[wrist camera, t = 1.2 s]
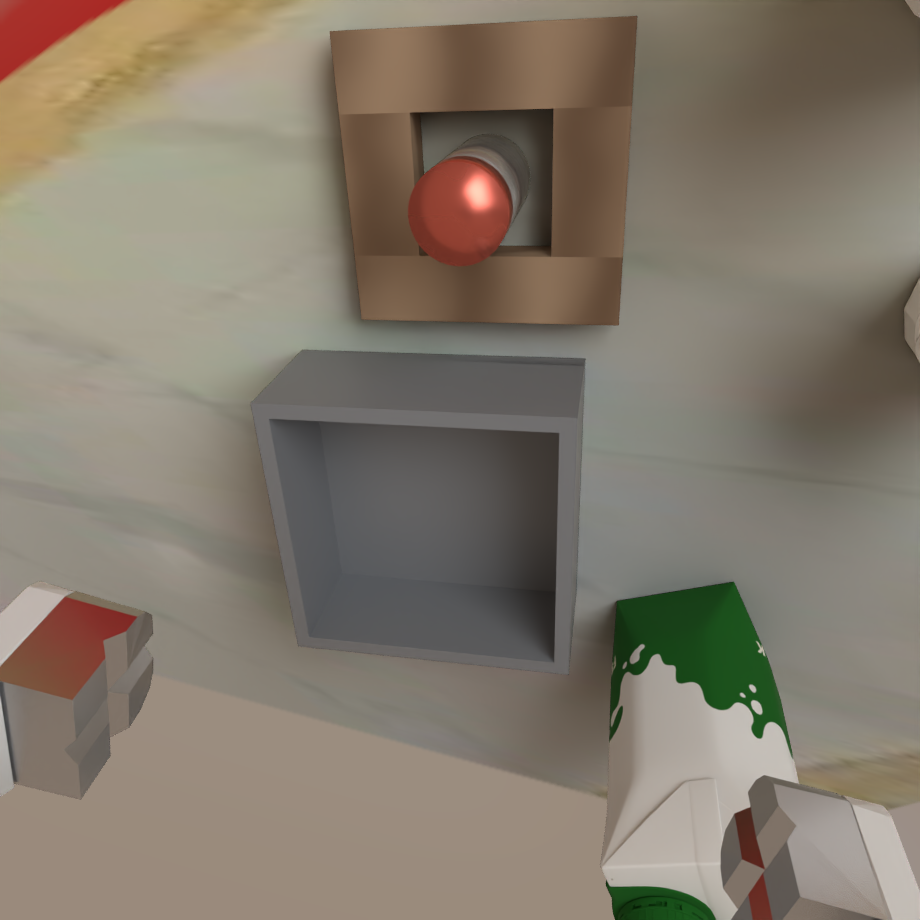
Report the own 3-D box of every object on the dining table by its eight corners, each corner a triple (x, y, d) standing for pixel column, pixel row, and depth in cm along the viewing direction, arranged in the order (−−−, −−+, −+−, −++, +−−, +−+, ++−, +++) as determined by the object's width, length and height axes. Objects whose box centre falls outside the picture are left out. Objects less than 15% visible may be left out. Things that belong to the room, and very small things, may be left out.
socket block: (636, 15, 33) (637, 16, 31) (619, 311, 39) (618, 325, 37) (344, 30, 35) (329, 31, 33) (372, 306, 42) (361, 319, 40)
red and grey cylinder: (530, 132, 36) (507, 161, 29) (530, 221, 38) (508, 266, 31) (446, 134, 37) (404, 162, 30) (450, 221, 39) (411, 266, 32)
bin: (585, 358, 41) (577, 417, 35) (576, 593, 49) (568, 674, 43) (302, 349, 44) (250, 403, 38) (336, 572, 51) (298, 646, 45)
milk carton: (598, 591, 48) (580, 907, 31) (749, 565, 45) (820, 900, 28) (634, 692, 52) (636, 1025, 35) (777, 675, 49) (855, 1030, 32)
